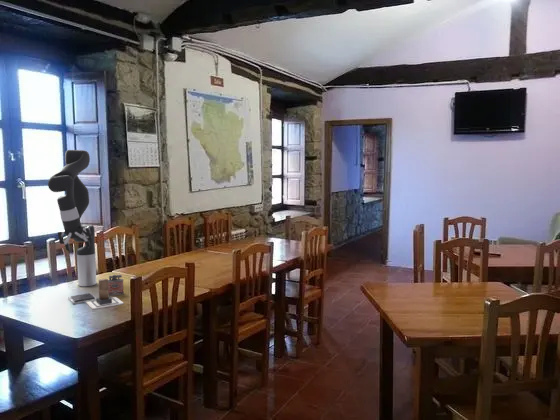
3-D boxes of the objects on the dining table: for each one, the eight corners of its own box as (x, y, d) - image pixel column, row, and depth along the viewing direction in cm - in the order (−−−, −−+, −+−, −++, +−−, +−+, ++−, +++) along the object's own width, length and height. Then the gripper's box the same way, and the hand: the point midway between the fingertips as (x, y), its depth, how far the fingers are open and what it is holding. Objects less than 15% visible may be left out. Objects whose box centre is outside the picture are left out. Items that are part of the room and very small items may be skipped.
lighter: (107, 295, 231) (106, 276, 230) (107, 293, 234) (106, 274, 233) (123, 294, 233) (123, 275, 232) (124, 292, 237) (123, 273, 235)
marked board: (86, 303, 219) (86, 301, 219) (115, 297, 227) (115, 296, 227) (92, 309, 209) (92, 307, 209) (123, 303, 217) (123, 302, 217)
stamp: (96, 302, 218) (95, 279, 217) (108, 299, 222) (107, 277, 221) (99, 304, 214) (98, 282, 213) (111, 302, 217) (111, 280, 216)
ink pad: (68, 298, 226) (68, 296, 225) (91, 295, 232) (91, 292, 232) (73, 304, 217) (73, 301, 217) (97, 300, 223) (97, 297, 223)
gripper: (87, 212, 216) (95, 243, 221) (56, 217, 214) (65, 248, 219) (84, 217, 209) (92, 249, 214) (52, 222, 207) (61, 254, 212)
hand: (78, 249), depth 217 cm, fingers open, 8 cm apart
